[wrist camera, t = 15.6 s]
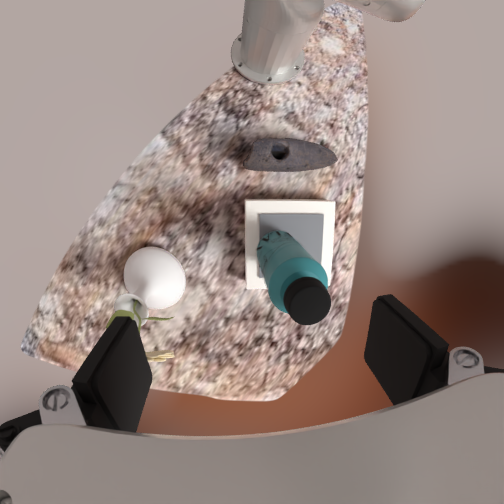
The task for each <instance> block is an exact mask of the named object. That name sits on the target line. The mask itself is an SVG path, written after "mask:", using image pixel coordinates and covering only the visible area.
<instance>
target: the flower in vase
mask: <svg viewBox="0 0 504 504" xmlns="http://www.w3.org/2000/svg"><path fill="white" fill-rule="evenodd" d="M124 283H125V286H126V289H127V291H128V292H129V293H125V294H122V295H120V296H118V298H117V299H116V301H115V304H114V309H115V313H114V314H113V315H112V317H111V318H110V320H109V322H108V324H107V326H106V328H108V327H109V325H110V324H111V322H112V321H113V320H114V318H115V317H116V316H130V317H131V318H132V320H135V321H136V323H137V326H138V330H139V334H140V328H141V326H142V325H143V324H145V323H146V321H147V319H148V320H169V319H171V318H158V317H148V316H149V313H148V308H150V309H164V308H167V307H170V306H172V305H174V304H175V303H176V302H177V301H178V300H179V299H180V298H181V297H182V295H183V293H184V290H185V285H186V278H185V273H184V270H183V267H182V265H181V264H180V262H179V261H178V260H177V258H176V257H175V256H173V255H172V254H171V253H170V252H168V251H166V250H164V249H161V248H158V247H145V248H141V249H139V250H137V251H135V252H134V253H133V254H132V255H131V256H130V257H129V258H128V260H127V262H126V264H125V268H124ZM172 318H173V317H172ZM173 352H174V351H171V350H162V351H153V352H145V354H146V357H147V360H148V362H150V361H155V362H162V361H166V359H165V358H173V357H175V356H173V355H174V354H173Z"/></svg>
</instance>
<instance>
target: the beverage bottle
mask: <svg viewBox="0 0 504 504" xmlns="http://www.w3.org/2000/svg"><path fill="white" fill-rule="evenodd" d="M262 237H263V238H261V240H260V241H259V243H258V246H256V247H257V248H256V249H257V258H258V259H257V260H258V261H259V264H260V266H259V268H261V272H262V274H263V275H262V276H263V277H264V283H266V286H267V288H268V293H269V296H270V299H271V301H272V303H273V304H274V305H275V306H276V307H277V308H278V309H279V310H281V311H283V312H285V313H288V314H289V315H290V316H291V318H292V319H293V320H294V321H295V322H297V323H299V324H302V325H312V324H315V323H318V322H319V321H321V320H322V319H323V318H325V316H326V315H327V314H328V312H329V310H330V307H331V298H330V295H329V293H328V291H327V288H328V277H327V274H326V271H325V270H324V268H323V267H322V265H321V264H320V263H318V262H317V261H316V260H315V259H314V258H313V257H312V256H311V255H310V254H309V253H308V252H307V251H306V250H305V249H304V248H303V247H302V246H301V245H302V244H301V243H300V242H299V243H300V244H301V245H300V244H299V243H298V242H297V241H298V240H297V241H296V240H295V239H294V238H293V237H292V236H291V235H290V234H289V233H287V232H284V230H283V231H281V230H278V231H274V230H273V231H272V232H270V233H266V235H265V236H262Z"/></svg>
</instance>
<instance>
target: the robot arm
mask: <svg viewBox="0 0 504 504" xmlns="http://www.w3.org/2000/svg"><path fill="white" fill-rule="evenodd" d="M334 1H337V2H340V3H343V4H346V5H348V6H351V7H354V8H356V9H359V10H361V11H364V12H366V13H369V14H371V15H373V16H376V17H378V18H381V19H384V20H387V21H390V22H402V21H405V20H407V19H409V18H410V17H412V16H413V15H414V14H416V12H417V11H418V10H419V9H420V8H421V6H422V5H423V3H424V2H425V0H334ZM323 13H324V0H245V6H244V16H243V27H242V33H241V34H240V35H239V36H238V37H237V38H236V39H235V41H234V42H233V45H232V49H231V58H232V62H233V64H234V66H235V68H236V69H237V71H238V72H239V73H240V74H241V75H242V76H244V77H245V78H247V79H249V80H251V81H253V82H255V83H259V84H264V85H278V84H282V83H285V82H288V81H290V80H291V79H293V78H294V77H296V76H297V75H298V73H299V72H300V71H301V69H302V67H303V65H304V60H305V55H304V50H303V48H304V46H305V45H306V43H307V41H308V40H309V38H310V36H311V35H312V33H313V31H314V30H315V28H316V27H317V25H318V23H319V22H320V20H321V18H322V16H323ZM239 66H241V67H239ZM295 68H296V69H297V70H296V69H295ZM267 80H270V81H267ZM448 346H449V344H448V343H447V342H446V341H445V340H444V339H442V338H441V337H440V336H439V335H438V334H437V333H436V332H435V331H434V330H432V329H431V328H430V327H429V326H428V325H427V324H426V323H425V322H423V321H422V320H421V319H420V318H419V317H418V316H417V315H415V314H414V313H413V312H412V311H411V310H410V309H408V308H407V307H406V306H405V305H404V304H402V303H401V302H400V301H399V300H397V298H395V297H394V296H393V295H391V294H390V295H383V296H378V297H377V299H376V300H375V301H374V302H373V306H372V313H371V319H370V325H369V331H368V337H367V342H366V348H365V352H364V359H365V362H366V363H367V365H368V366H369V368H370V369H371V371H372V372H373V374H374V375H375V377H376V378H377V380H378V382H379V383H380V384H381V386H382V388H383V389H384V391H385V392H386V394H387V395H388V397H389V399H390V400H391V402H392V403H393V405H394V406H391V407H388V408H385V409H382V410H379V411H375V412H372V413H368V414H365V415H361V416H357V417H354V418H350V419H345V420H341V421H337V422H332V423H328V424H323V425H318V426H312V427H307V428H301V429H294V430H287V431H280V432H271V433H262V434H250V435H235V436H174V435H158V434H146V433H136V431H137V427H138V424H139V420H140V417H141V414H142V410H143V407H144V404H145V401H146V398H147V394H148V392H149V389H150V386H151V383H152V372H151V369H150V366H149V363H148V360H147V357H146V354H145V351H144V347H143V344H142V341H141V337H140V334H139V330H138V326H137V323H136V321H135V320H132V318H131V317H130V316H116V317H115V318H114V320H113V321H112V322H111V324H110V325H109V327H108V328H107V329H106V331H105V332H104V334H103V335H102V336H101V338H100V339H99V341H98V342H97V344H96V345H95V346H94V348H93V349H92V351H91V352H90V354H89V355H88V357H87V358H86V360H85V361H84V363H83V364H82V366H81V367H80V369H79V370H78V372H77V373H76V375H75V376H74V378H73V380H72V382H73V386H72V387H71V388H69V387H67V386H64V385H57V386H53V387H51V388H49V389H47V390H46V391H45V392H43V394H42V395H41V396H40V399H39V410H36V411H34V412H31V413H28V414H26V415H23V416H21V417H18V418H15V419H13V420H10V421H7V422H5V423H3V424H2V425H1V426H0V504H504V369H498V368H492V367H486V366H484V365H483V359H482V357H481V355H480V354H479V353H478V352H476V351H475V350H473V349H471V348H467V347H458V348H455V349H453V350H452V351H451V352H450V353H449V352H447V349H448Z"/></svg>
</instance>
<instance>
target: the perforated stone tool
mask: <svg viewBox="0 0 504 504" xmlns="http://www.w3.org/2000/svg"><path fill="white" fill-rule="evenodd" d="M337 160H338V159H337V157H336V155H335V154H334V152H332V151H331V150H329V149H327V148H325V147H323V146H321V145H319V144H316V143H311V142H307V141H302V140H297V139H290V138H285V139H277V138H263V139H257V140H256V141H255V142H253V145H252V147H251V151H250V154H249V155H248V157H247V158H246V159H245V160H244V163H243V166H244V168H245V169H248V170H254V171H273V172H294V171H306V170H314V169H319V168H323V167H327V166H330V165H332V164H334V163H335V162H337Z"/></svg>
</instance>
